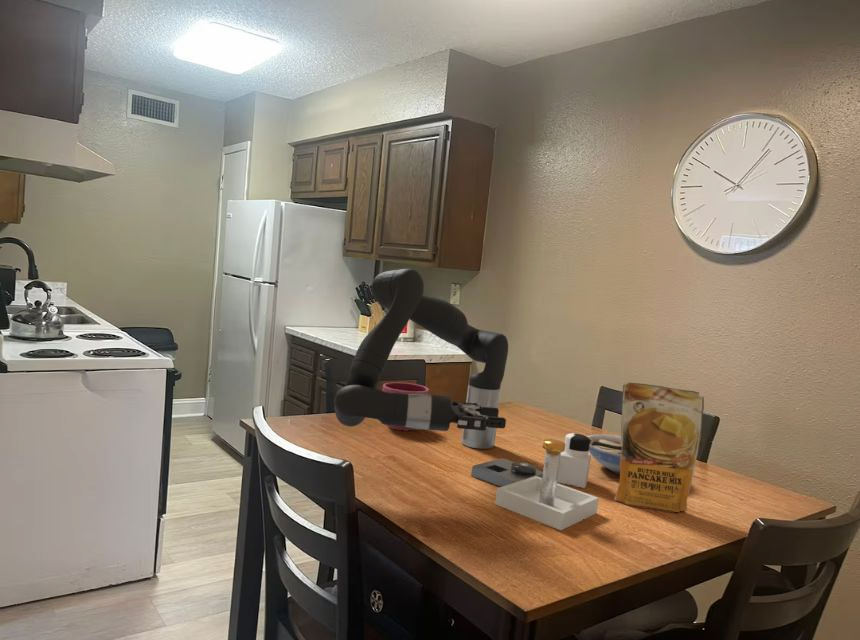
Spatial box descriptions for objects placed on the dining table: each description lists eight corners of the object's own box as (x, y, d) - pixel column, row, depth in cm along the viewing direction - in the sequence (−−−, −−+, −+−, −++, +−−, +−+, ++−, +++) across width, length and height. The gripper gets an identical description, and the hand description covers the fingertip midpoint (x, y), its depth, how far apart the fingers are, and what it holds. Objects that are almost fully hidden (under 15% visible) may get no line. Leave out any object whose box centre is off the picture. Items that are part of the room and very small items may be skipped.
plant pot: (369, 424, 188) (373, 383, 187) (397, 419, 199) (401, 380, 198) (406, 436, 180) (411, 393, 179) (433, 429, 191) (438, 389, 190)
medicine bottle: (587, 480, 157) (593, 435, 156) (585, 489, 150) (591, 441, 149) (559, 475, 159) (565, 429, 158) (556, 482, 152) (562, 435, 152)
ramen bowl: (674, 472, 174) (678, 444, 173) (669, 495, 153) (673, 463, 153) (585, 453, 184) (589, 426, 184) (569, 471, 163) (573, 441, 163)
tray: (533, 490, 145) (535, 475, 144) (596, 513, 134) (598, 497, 134) (494, 504, 133) (496, 488, 132) (560, 530, 122) (562, 513, 122)
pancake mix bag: (605, 493, 149) (621, 379, 147) (687, 506, 146) (704, 390, 144) (609, 503, 142) (626, 383, 140) (695, 517, 139) (713, 395, 137)
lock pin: (542, 499, 137) (550, 438, 136) (560, 506, 134) (569, 443, 133) (531, 503, 133) (539, 440, 132) (550, 510, 130) (558, 446, 129)
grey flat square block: (501, 467, 160) (503, 452, 159) (544, 482, 151) (546, 466, 151) (471, 475, 150) (473, 459, 150) (515, 492, 141) (518, 475, 141)
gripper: (431, 402, 125) (510, 408, 126) (427, 388, 139) (497, 394, 141) (428, 438, 126) (506, 444, 127) (424, 420, 140) (494, 426, 141)
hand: (501, 417), depth 134 cm, fingers open, 8 cm apart
